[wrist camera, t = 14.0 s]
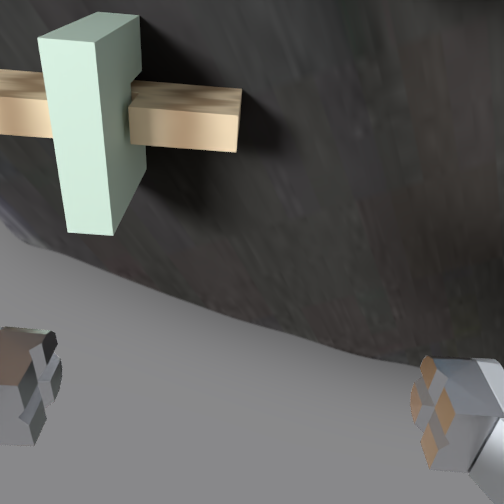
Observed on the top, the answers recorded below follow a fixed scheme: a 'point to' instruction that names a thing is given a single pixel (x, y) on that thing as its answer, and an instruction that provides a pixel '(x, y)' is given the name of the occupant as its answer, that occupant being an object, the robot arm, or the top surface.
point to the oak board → (135, 112)
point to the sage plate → (94, 117)
